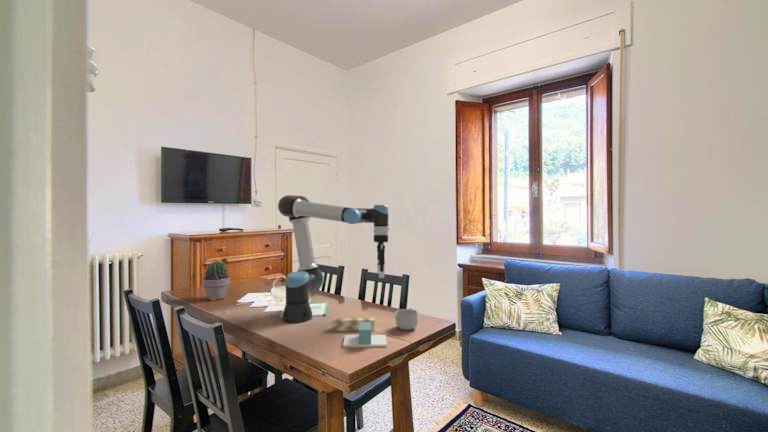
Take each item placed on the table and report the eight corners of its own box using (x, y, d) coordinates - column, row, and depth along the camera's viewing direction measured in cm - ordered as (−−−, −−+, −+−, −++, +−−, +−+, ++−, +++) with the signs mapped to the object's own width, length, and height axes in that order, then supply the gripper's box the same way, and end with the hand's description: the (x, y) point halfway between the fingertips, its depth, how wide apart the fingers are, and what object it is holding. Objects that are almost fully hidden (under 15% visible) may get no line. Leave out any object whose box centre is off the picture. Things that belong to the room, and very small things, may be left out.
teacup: (411, 333, 158) (411, 316, 158) (390, 329, 164) (390, 312, 164) (424, 325, 170) (424, 308, 170) (404, 321, 176) (404, 305, 176)
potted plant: (191, 302, 210) (191, 261, 210) (212, 294, 230) (212, 256, 229) (218, 303, 207) (218, 262, 207) (237, 295, 227) (237, 257, 226)
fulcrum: (343, 347, 143) (343, 330, 143) (345, 337, 154) (345, 321, 154) (386, 346, 143) (386, 330, 143) (385, 337, 154) (385, 321, 154)
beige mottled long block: (331, 331, 162) (331, 320, 162) (332, 328, 165) (332, 318, 165) (374, 330, 163) (374, 320, 163) (374, 328, 167) (374, 317, 166)
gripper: (390, 236, 169) (390, 279, 169) (386, 232, 193) (385, 270, 194) (374, 236, 168) (374, 280, 168) (372, 232, 193) (372, 270, 193)
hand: (380, 275), depth 181 cm, fingers open, 13 cm apart
